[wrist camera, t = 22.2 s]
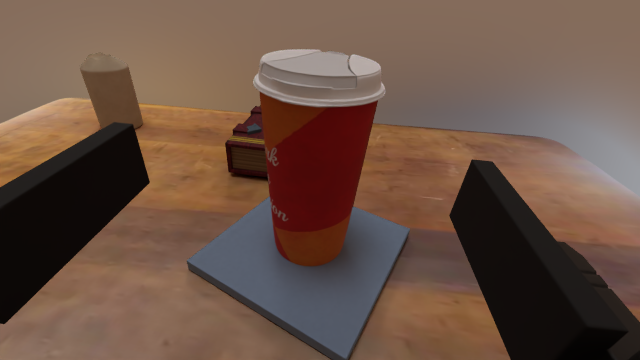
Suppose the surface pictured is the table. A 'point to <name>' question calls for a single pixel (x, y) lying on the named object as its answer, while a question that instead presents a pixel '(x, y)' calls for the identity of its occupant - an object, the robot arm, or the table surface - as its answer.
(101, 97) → the candle
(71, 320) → the table surface
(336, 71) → the coffee cup
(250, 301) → the cup mat
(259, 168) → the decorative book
